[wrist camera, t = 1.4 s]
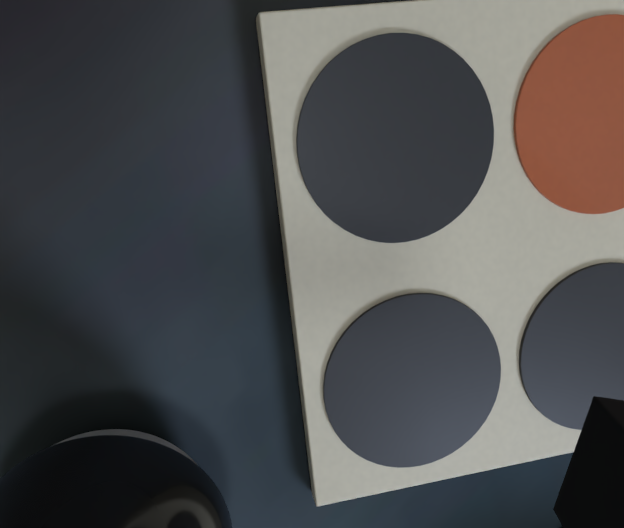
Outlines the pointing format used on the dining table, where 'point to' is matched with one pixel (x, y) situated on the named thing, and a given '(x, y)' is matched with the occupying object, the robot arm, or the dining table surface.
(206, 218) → the dining table surface
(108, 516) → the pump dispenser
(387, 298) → the hob plate
